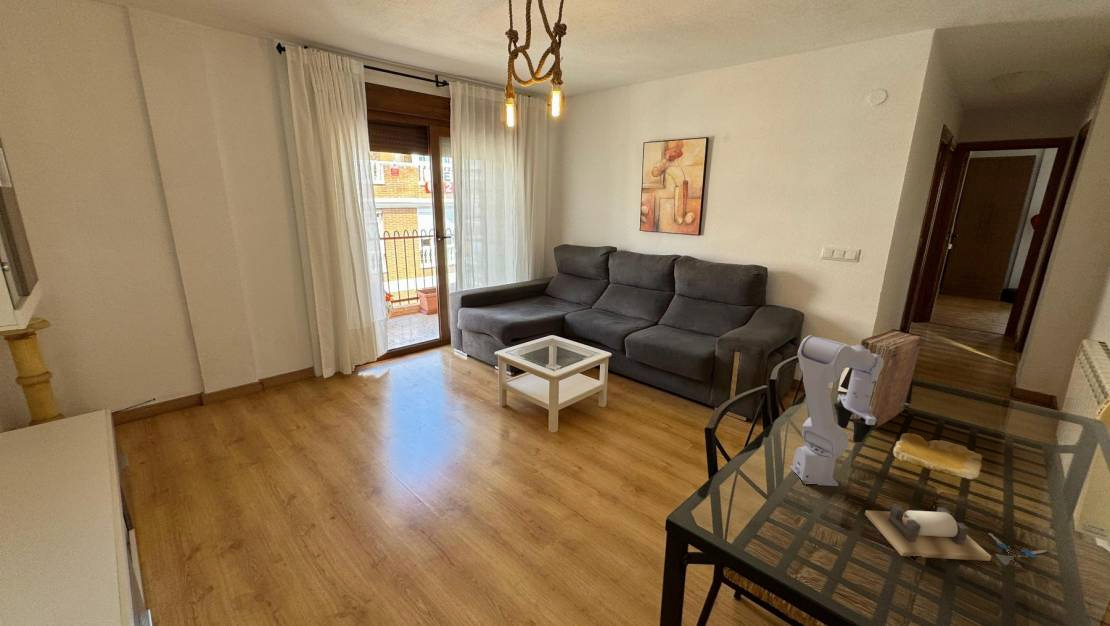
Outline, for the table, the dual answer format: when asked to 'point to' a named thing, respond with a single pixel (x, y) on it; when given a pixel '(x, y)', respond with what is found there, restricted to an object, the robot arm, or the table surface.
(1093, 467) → the table surface
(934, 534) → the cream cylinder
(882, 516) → the roll holder
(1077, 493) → the table surface
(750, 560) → the table surface
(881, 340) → the brown upright rectangular block
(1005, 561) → the key chain
